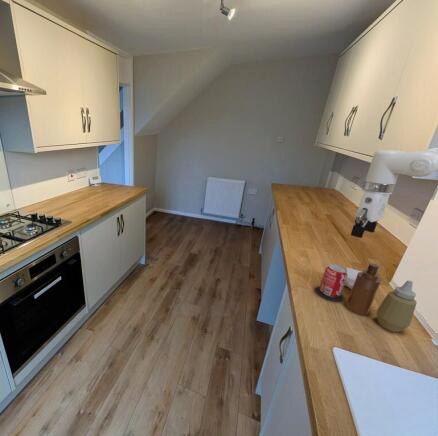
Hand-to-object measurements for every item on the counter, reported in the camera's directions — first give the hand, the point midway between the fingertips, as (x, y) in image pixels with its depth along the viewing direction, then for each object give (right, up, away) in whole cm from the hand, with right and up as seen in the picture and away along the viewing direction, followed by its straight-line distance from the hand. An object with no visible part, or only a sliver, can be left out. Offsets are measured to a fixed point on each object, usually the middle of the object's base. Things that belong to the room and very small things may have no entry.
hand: (362, 233), depth 86 cm
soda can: (-5, -25, +10) cm, 27 cm away
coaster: (-5, -25, +10) cm, 28 cm away
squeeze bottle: (+4, -31, -5) cm, 32 cm away
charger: (+10, -24, +14) cm, 30 cm away
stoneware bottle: (0, -28, +2) cm, 28 cm away
